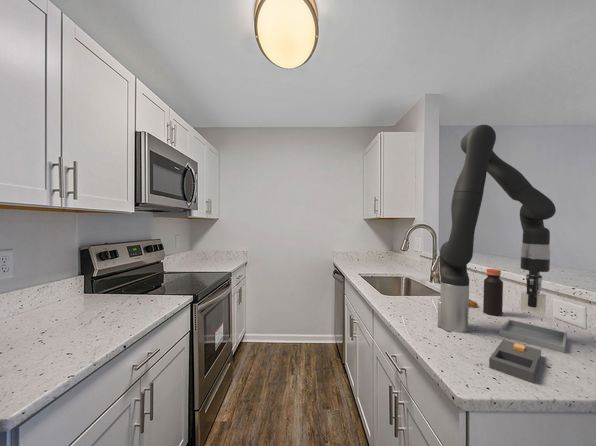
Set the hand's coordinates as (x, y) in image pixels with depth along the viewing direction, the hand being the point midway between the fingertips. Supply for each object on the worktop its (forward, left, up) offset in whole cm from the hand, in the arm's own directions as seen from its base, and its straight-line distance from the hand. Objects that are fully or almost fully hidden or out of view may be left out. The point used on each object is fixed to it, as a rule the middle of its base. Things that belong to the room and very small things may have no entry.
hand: (533, 305), depth 91 cm
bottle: (-15, +18, -12) cm, 26 cm away
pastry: (-27, +24, -12) cm, 39 cm away
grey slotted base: (-1, -26, -12) cm, 28 cm away
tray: (0, 0, -12) cm, 12 cm away
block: (0, 0, -2) cm, 2 cm away
